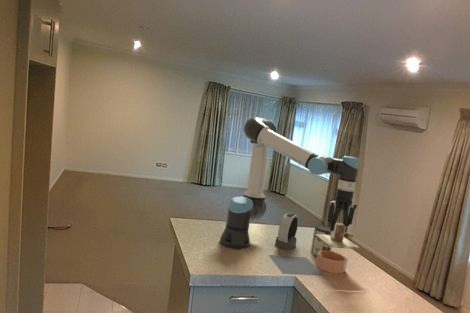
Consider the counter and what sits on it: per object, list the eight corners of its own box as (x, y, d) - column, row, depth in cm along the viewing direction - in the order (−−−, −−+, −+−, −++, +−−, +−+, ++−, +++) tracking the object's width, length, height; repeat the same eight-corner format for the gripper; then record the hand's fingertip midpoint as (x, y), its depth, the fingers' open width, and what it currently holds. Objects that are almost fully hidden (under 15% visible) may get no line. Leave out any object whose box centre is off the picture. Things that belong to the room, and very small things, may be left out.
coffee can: (329, 252, 198) (334, 227, 196) (330, 259, 188) (335, 232, 186) (310, 248, 200) (314, 223, 198) (310, 255, 190) (315, 228, 188)
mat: (282, 274, 160) (282, 273, 160) (268, 255, 179) (268, 254, 179) (324, 276, 165) (324, 275, 165) (306, 258, 184) (306, 257, 184)
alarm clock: (289, 252, 189) (295, 217, 187) (270, 246, 194) (276, 212, 192) (299, 244, 203) (305, 212, 201) (281, 239, 208) (287, 207, 206)
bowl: (324, 273, 169) (326, 260, 168) (311, 261, 181) (314, 249, 181) (349, 274, 172) (351, 262, 171) (335, 262, 184) (338, 251, 184)
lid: (329, 247, 166) (332, 228, 165) (314, 235, 180) (317, 218, 179) (358, 249, 170) (362, 230, 169) (342, 237, 184) (345, 220, 183)
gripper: (332, 189, 167) (323, 239, 169) (366, 193, 171) (357, 241, 173) (325, 186, 174) (316, 234, 176) (357, 189, 178) (348, 236, 180)
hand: (336, 237), depth 175 cm, fingers closed on lid, 4 cm apart
